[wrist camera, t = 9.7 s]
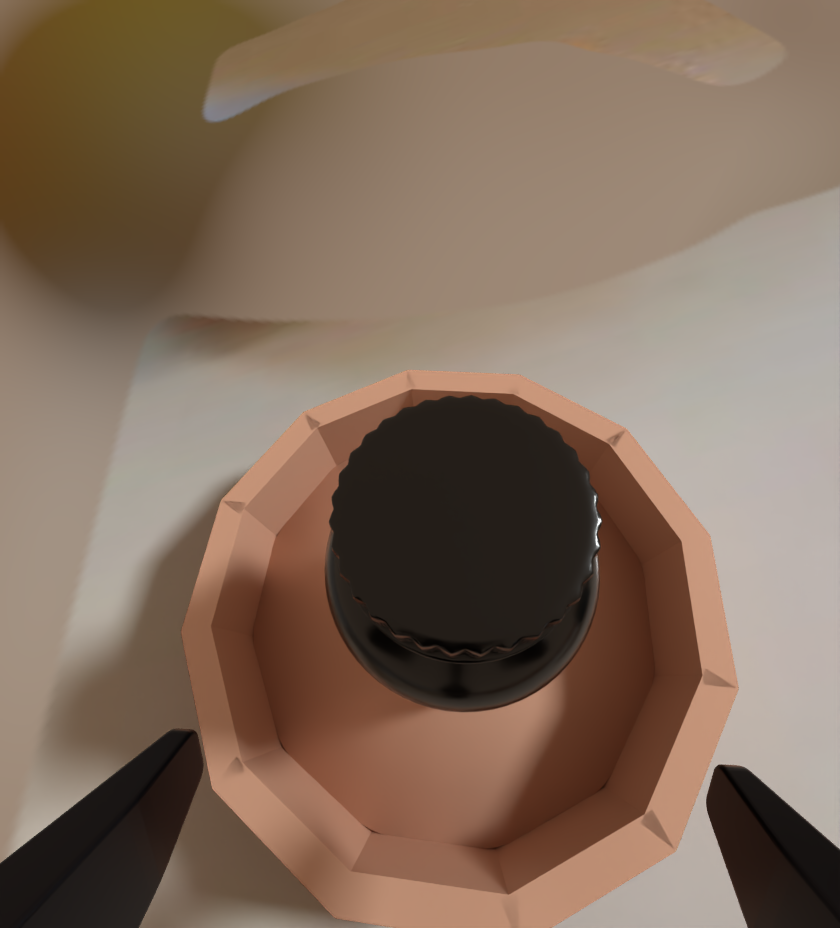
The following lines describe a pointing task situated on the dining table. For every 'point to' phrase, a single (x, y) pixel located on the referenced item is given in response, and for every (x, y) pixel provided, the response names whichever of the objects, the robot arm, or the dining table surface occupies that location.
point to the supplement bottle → (463, 554)
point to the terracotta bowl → (457, 733)
